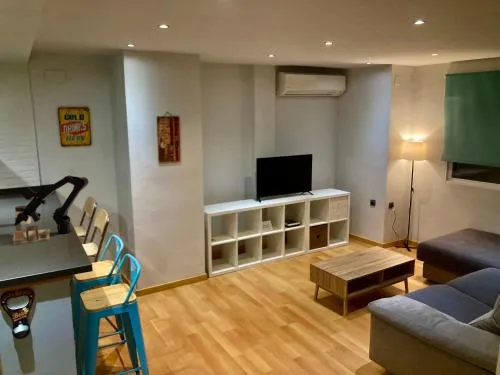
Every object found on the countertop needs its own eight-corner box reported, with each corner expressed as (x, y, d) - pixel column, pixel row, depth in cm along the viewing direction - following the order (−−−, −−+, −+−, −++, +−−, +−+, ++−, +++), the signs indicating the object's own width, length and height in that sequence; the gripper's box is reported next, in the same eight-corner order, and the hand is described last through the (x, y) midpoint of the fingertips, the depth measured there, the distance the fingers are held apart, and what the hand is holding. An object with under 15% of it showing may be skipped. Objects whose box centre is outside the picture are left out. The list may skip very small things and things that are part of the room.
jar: (14, 224, 286) (12, 207, 284) (25, 221, 293) (23, 205, 291) (21, 225, 282) (19, 208, 280) (33, 222, 289) (31, 206, 287)
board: (49, 230, 268) (49, 228, 268) (49, 240, 246) (48, 238, 246) (17, 234, 261) (17, 232, 261) (13, 244, 238) (13, 243, 238)
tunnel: (39, 235, 252) (37, 225, 251) (38, 239, 244) (37, 228, 243) (28, 237, 249) (26, 226, 248) (27, 240, 242) (25, 229, 241)
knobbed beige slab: (26, 231, 261) (24, 215, 260) (24, 239, 243) (22, 222, 242) (15, 232, 259) (13, 216, 257) (12, 241, 241) (10, 224, 239)
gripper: (42, 216, 252) (24, 236, 250) (46, 210, 269) (29, 228, 268) (26, 205, 248) (7, 225, 246) (31, 199, 265) (14, 218, 264)
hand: (15, 224), depth 256 cm, fingers closed on knobbed beige slab, 3 cm apart
